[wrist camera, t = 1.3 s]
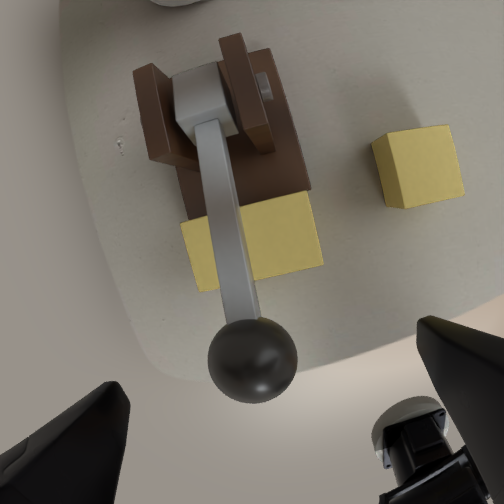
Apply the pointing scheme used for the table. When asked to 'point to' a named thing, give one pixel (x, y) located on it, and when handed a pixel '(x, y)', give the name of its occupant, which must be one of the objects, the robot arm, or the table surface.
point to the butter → (261, 240)
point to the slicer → (239, 145)
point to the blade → (231, 248)
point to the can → (174, 2)
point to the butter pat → (418, 166)
